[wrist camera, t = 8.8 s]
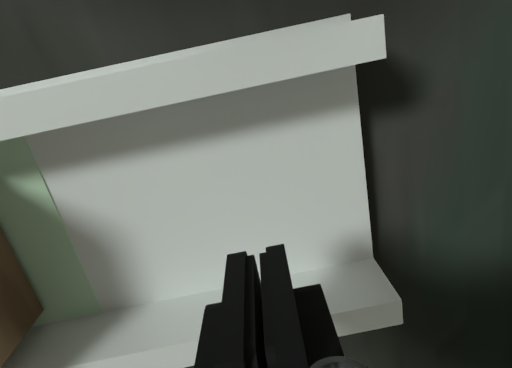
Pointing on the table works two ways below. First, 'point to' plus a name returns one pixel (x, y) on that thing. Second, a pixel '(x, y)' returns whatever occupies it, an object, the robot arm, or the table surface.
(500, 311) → the table surface
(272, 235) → the chute
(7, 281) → the walnut block
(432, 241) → the table surface
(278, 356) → the robot arm
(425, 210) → the table surface
